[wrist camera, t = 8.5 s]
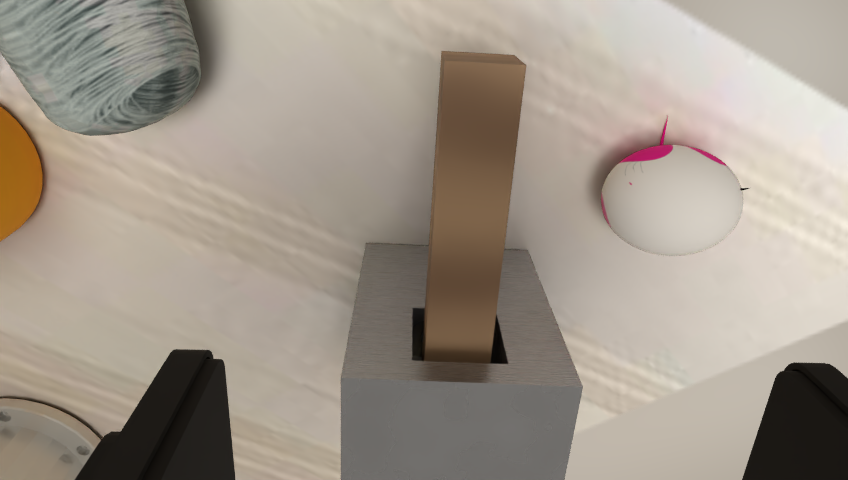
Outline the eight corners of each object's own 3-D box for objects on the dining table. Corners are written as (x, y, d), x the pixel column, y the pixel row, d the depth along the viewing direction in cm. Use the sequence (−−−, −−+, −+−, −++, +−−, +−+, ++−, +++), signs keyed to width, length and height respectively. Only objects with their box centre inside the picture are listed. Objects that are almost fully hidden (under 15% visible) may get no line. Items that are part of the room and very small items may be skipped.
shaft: (473, 419, 33) (478, 460, 30) (417, 417, 32) (417, 458, 30) (514, 55, 25) (526, 65, 22) (441, 50, 25) (444, 60, 22)
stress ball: (695, 143, 38) (761, 99, 32) (701, 268, 37) (773, 249, 30) (578, 135, 38) (621, 89, 31) (580, 262, 36) (626, 242, 30)
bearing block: (512, 357, 41) (555, 526, 28) (364, 352, 40) (341, 519, 28) (527, 250, 37) (582, 386, 25) (366, 242, 37) (341, 377, 25)
